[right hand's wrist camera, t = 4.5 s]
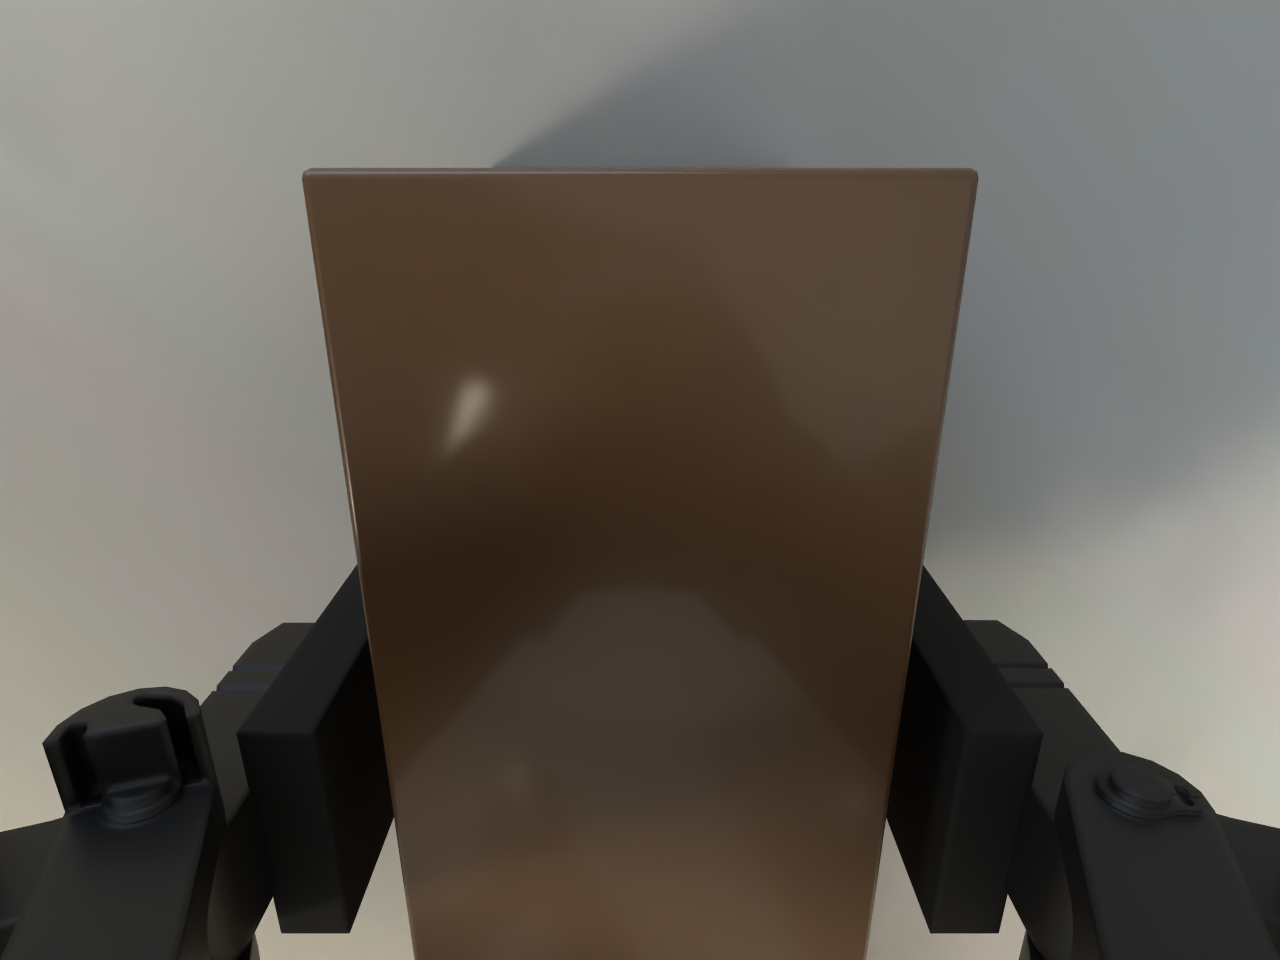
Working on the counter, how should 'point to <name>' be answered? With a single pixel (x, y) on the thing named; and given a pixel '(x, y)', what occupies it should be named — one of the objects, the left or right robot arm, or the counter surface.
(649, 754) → the bar
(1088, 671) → the counter surface
